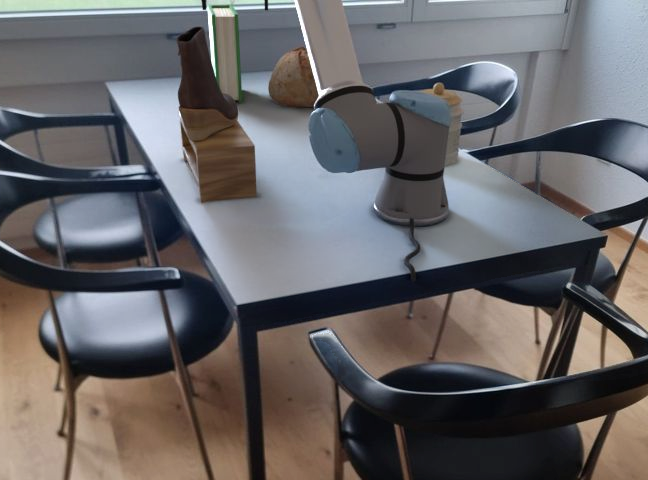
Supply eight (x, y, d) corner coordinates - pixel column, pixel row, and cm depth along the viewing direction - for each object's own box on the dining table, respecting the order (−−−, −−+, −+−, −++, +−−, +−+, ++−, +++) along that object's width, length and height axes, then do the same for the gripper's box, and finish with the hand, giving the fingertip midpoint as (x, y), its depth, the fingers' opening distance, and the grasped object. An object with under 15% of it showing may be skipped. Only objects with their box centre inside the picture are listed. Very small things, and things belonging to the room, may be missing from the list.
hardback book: (242, 102, 209) (237, 14, 195) (217, 103, 208) (211, 14, 194) (236, 88, 223) (232, 4, 209) (213, 89, 222) (207, 5, 208)
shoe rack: (256, 196, 148) (254, 145, 142) (201, 202, 145) (196, 150, 139) (232, 155, 170) (229, 109, 164) (183, 159, 167) (178, 112, 161)
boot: (247, 114, 160) (243, 17, 149) (214, 146, 141) (206, 38, 129) (211, 111, 162) (204, 16, 150) (174, 143, 142) (162, 36, 131)
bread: (357, 93, 221) (359, 41, 212) (352, 113, 202) (354, 58, 193) (275, 89, 222) (274, 38, 214) (263, 109, 204) (261, 54, 195)
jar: (421, 170, 164) (429, 91, 153) (395, 153, 173) (401, 78, 163) (467, 163, 168) (478, 87, 158) (439, 147, 178) (448, 74, 167)
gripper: (289, -41, 164) (292, 20, 155) (183, -42, 162) (179, 19, 153) (289, -73, 157) (292, -11, 148) (178, -75, 156) (174, -12, 147)
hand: (235, 4), depth 151 cm, fingers open, 13 cm apart
